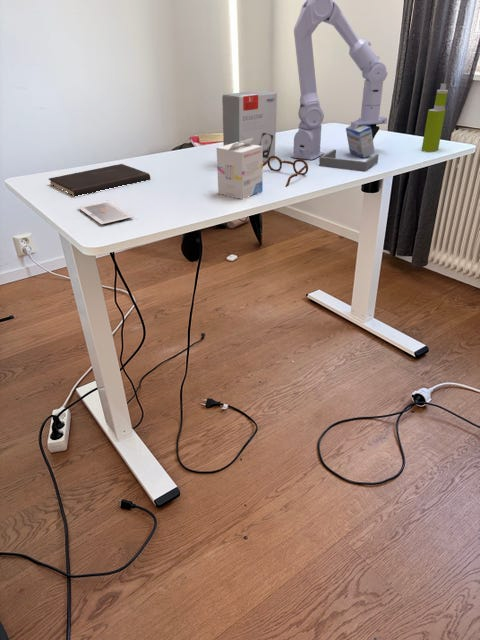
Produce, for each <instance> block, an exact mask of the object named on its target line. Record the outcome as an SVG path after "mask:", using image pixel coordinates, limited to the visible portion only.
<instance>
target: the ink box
mask: <svg viewBox="0 0 480 640" xmlns="http://www.w3.org/2000/svg"><path fill="white" fill-rule="evenodd" d="M253 139H254V138H250V139H247V140H244V141H240V142H236V143H232V144H228V145H225V146H223V145H222V146H218V147H216V163H217V167H216V168H217V193H218V194H219V193H220V195H222V194H224V195H223V196H226V195H228V196H227V197H230V196H233V197H232V198H234V197H237V198H236V199H238V198H241V199H240V200H244V199H243V198H245V199H247V198H246V197H248V196H250V197H252V196H254V195H253V194H255V195H257V194H259V193H262V192H263V190H264V189H263V181H264V180H263V167H264V166H263V163H264V162H263V146H259V145H252V144H250V143H251V141H252V140H253ZM243 142H245V143H243ZM261 191H262V192H261ZM258 192H259V193H258ZM256 193H257V194H256ZM251 195H252V196H251ZM248 198H249V197H248Z"/></svg>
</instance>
